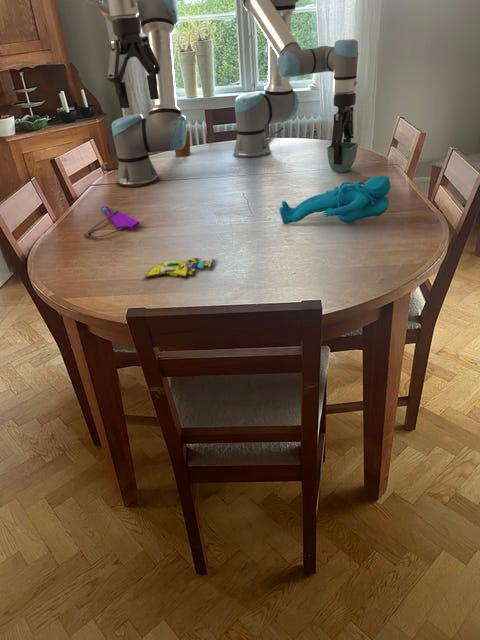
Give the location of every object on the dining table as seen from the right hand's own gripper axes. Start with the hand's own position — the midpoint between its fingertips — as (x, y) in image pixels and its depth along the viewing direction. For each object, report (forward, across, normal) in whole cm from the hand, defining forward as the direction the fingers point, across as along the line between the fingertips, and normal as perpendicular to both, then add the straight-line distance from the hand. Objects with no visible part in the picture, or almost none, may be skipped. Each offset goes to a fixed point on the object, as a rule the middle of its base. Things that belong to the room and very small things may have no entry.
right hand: (342, 160), depth 174 cm
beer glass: (+4, +6, +75) cm, 76 cm away
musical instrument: (+4, -72, +50) cm, 87 cm away
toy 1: (+4, -88, +10) cm, 89 cm away
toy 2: (+4, -48, -14) cm, 50 cm away
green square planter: (+4, 0, 0) cm, 4 cm away
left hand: (-28, -54, +43) cm, 75 cm away
